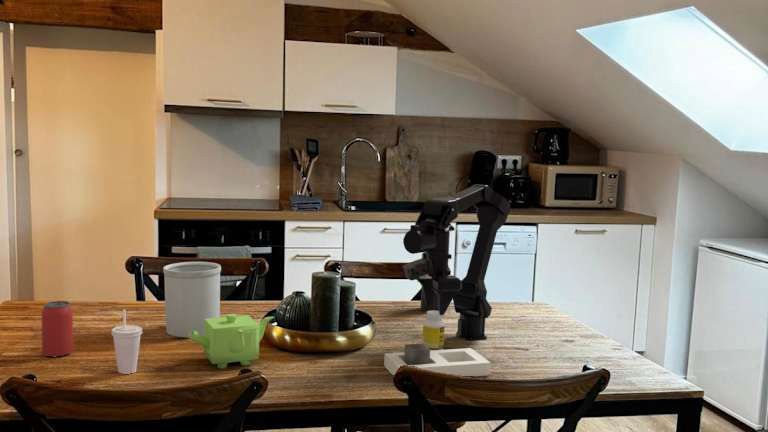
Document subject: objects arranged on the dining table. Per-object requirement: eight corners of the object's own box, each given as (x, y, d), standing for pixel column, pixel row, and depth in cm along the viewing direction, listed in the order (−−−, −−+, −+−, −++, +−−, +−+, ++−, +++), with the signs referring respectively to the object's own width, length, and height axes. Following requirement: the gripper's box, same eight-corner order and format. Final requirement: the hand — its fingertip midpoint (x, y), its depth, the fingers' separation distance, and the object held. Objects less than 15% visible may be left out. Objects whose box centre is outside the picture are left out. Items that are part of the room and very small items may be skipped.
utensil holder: (151, 333, 181) (150, 267, 179) (187, 320, 195) (187, 259, 193) (197, 341, 176) (198, 274, 174) (231, 327, 190) (232, 264, 188)
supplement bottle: (441, 353, 174) (443, 315, 173) (420, 351, 175) (422, 313, 174) (444, 347, 179) (446, 310, 178) (423, 345, 180) (425, 308, 179)
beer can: (79, 351, 165) (78, 302, 164) (58, 359, 159) (57, 308, 157) (57, 348, 167) (56, 299, 166) (35, 355, 161) (34, 305, 159)
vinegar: (435, 313, 214) (438, 249, 211) (416, 309, 217) (419, 246, 215) (445, 308, 219) (448, 246, 217) (426, 305, 223) (429, 244, 221)
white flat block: (469, 360, 170) (470, 348, 169) (489, 375, 159) (490, 362, 159) (384, 365, 163) (384, 353, 163) (399, 382, 153) (399, 369, 152)
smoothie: (116, 366, 156) (116, 305, 154) (145, 367, 156) (145, 306, 154) (107, 376, 149) (107, 313, 148) (138, 377, 150) (138, 313, 148)
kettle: (273, 356, 167) (274, 311, 165) (246, 375, 153) (247, 326, 152) (218, 349, 171) (218, 304, 169) (186, 367, 157) (186, 318, 156)
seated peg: (422, 368, 162) (423, 343, 162) (428, 374, 158) (430, 349, 158) (403, 369, 161) (404, 344, 160) (410, 376, 157) (411, 350, 156)
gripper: (395, 243, 180) (392, 302, 182) (420, 256, 163) (417, 321, 165) (434, 243, 184) (432, 300, 186) (464, 255, 166) (460, 319, 168)
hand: (434, 310), depth 176 cm, fingers open, 9 cm apart
